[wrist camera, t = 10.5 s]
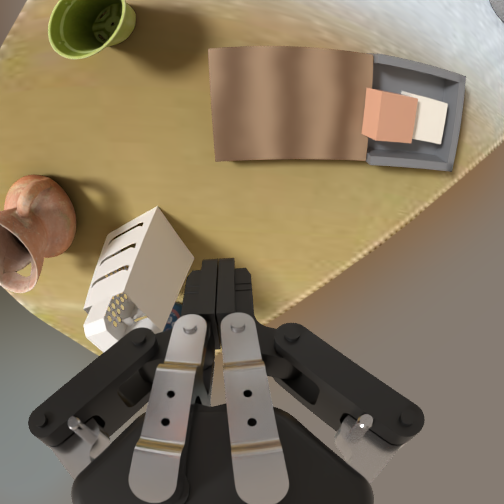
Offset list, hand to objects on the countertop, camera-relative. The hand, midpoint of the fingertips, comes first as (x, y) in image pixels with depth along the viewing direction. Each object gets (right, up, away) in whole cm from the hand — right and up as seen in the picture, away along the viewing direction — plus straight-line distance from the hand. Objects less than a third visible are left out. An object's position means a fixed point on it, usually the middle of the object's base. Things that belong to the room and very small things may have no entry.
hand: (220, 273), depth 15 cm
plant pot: (-16, +30, +12) cm, 35 cm away
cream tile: (+24, +20, +19) cm, 37 cm away
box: (+23, +20, +20) cm, 36 cm away
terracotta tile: (+18, +18, +18) cm, 31 cm away
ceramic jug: (-32, +9, +26) cm, 42 cm away
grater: (-15, +2, +32) cm, 35 cm away
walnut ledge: (+6, +20, +19) cm, 28 cm away
